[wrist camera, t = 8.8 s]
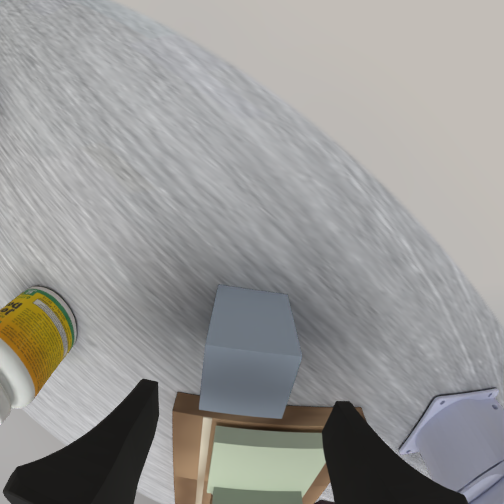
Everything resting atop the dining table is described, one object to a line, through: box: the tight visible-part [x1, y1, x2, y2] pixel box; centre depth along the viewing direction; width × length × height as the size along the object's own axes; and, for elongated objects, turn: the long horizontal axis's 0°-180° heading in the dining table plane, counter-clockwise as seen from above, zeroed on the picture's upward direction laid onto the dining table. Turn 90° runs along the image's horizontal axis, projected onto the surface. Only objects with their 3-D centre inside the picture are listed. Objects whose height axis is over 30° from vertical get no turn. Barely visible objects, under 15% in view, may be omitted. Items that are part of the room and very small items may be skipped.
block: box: [199, 285, 302, 419], centre depth 16 cm, size 4×4×6 cm
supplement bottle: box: [0, 287, 77, 425], centre depth 14 cm, size 5×5×10 cm
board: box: [173, 392, 366, 504], centre depth 23 cm, size 14×19×2 cm
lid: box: [207, 426, 326, 504], centre depth 18 cm, size 8×8×4 cm
